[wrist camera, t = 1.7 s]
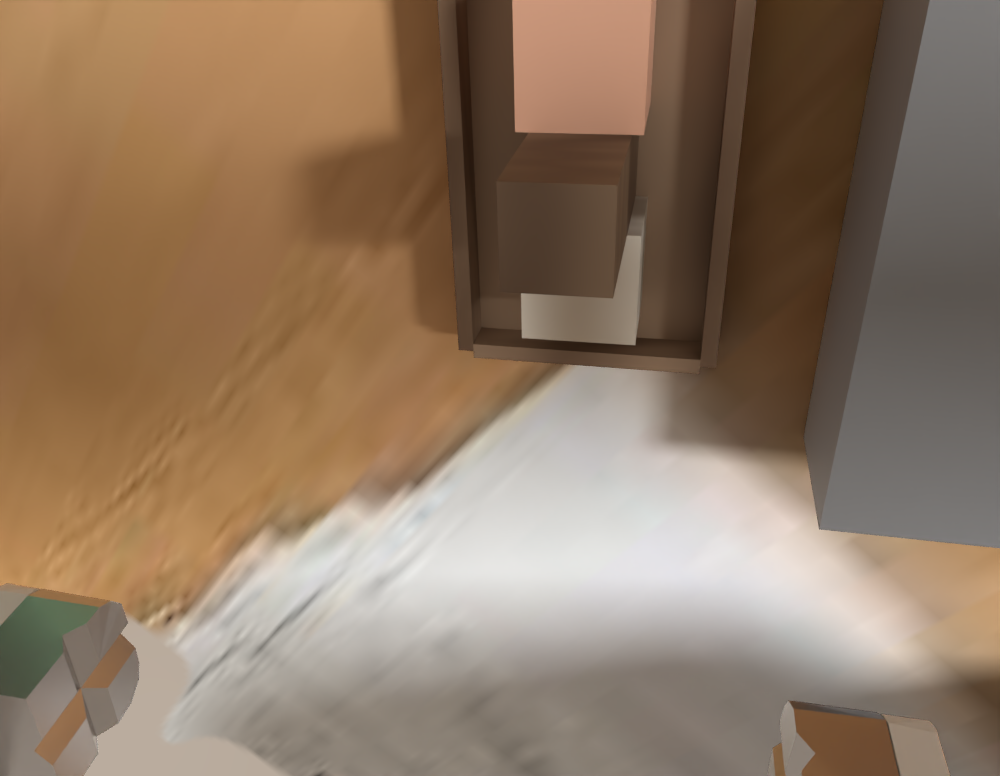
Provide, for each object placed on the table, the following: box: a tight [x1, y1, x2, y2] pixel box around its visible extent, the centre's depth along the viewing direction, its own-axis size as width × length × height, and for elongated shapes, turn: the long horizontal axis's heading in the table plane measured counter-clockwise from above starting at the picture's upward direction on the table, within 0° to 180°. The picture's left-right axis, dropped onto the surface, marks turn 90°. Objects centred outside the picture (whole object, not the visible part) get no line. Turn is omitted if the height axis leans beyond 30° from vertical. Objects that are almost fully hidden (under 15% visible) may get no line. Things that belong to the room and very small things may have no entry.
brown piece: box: [437, 0, 757, 374], centre depth 28 cm, size 10×16×10 cm, turn 2°
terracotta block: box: [512, 0, 657, 135], centre depth 28 cm, size 4×4×4 cm
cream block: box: [521, 196, 648, 345], centre depth 31 cm, size 4×4×4 cm
